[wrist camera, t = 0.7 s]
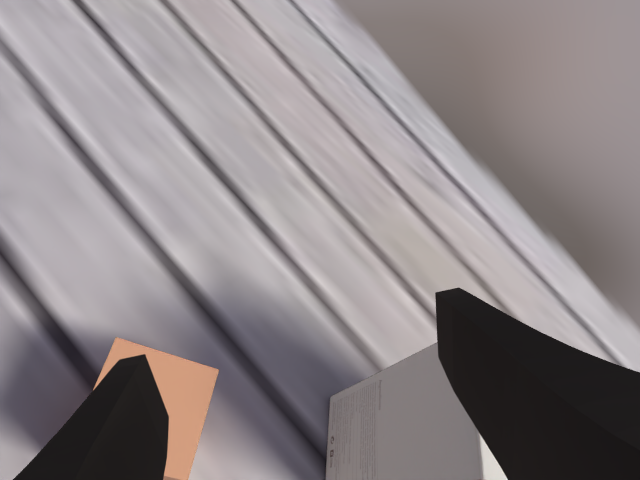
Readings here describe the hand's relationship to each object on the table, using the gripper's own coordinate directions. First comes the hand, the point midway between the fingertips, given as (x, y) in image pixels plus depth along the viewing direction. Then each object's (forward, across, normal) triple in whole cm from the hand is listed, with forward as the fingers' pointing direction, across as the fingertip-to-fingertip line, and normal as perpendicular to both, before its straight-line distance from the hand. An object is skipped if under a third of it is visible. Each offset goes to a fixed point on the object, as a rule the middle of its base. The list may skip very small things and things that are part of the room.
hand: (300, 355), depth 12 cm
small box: (+12, -4, +19) cm, 22 cm away
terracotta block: (+10, +9, +11) cm, 18 cm away
